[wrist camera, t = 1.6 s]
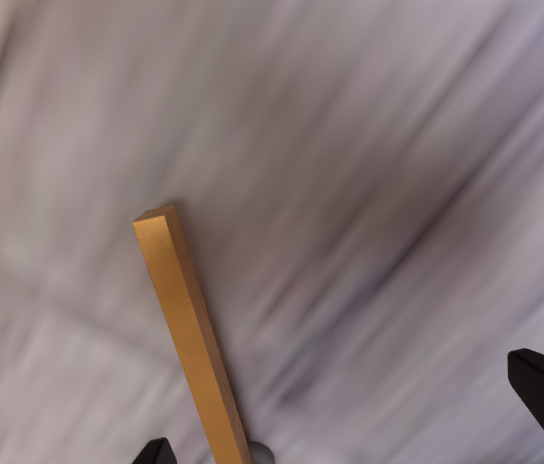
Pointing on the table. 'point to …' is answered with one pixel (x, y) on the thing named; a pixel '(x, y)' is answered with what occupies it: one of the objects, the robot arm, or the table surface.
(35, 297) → the table surface
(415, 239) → the table surface
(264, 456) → the frame
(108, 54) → the table surface
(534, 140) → the table surface
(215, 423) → the orange bar
